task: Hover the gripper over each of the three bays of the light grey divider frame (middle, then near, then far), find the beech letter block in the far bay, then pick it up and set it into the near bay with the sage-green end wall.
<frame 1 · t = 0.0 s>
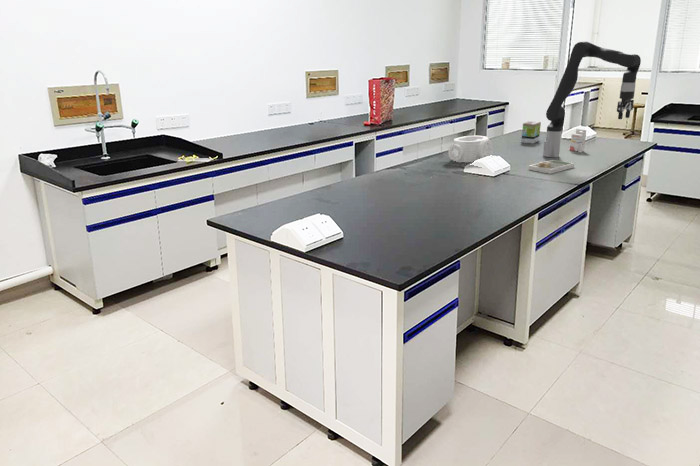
hand: (623, 118, 323), 29 cm above the counter, tool pointing down, fingers open, 8 cm apart
housing: (472, 159, 363), on the counter
tea box: (530, 142, 420), on the counter
beech letter block: (543, 170, 328), resting in divider frame
divider frame: (551, 168, 332), on the counter
ink cartridge box: (576, 151, 382), on the counter
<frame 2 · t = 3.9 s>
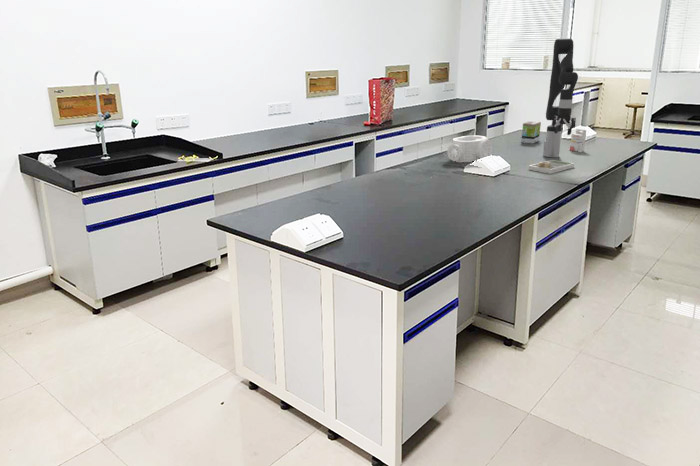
hand: (562, 134, 330), 20 cm above the counter, tool pointing down, fingers open, 8 cm apart
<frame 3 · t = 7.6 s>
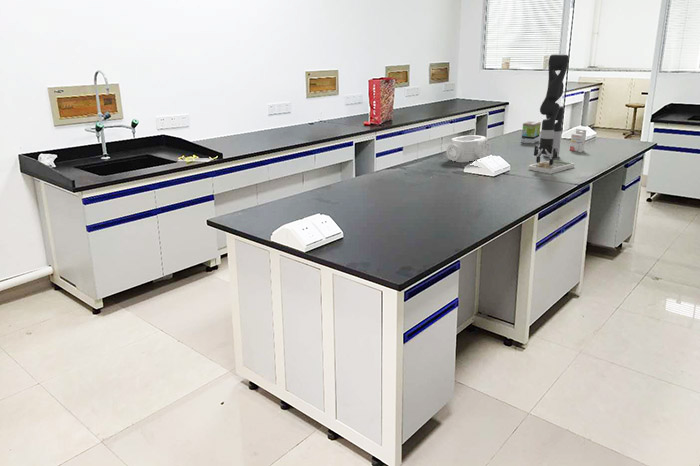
hand: (544, 164, 326), 4 cm above the counter, tool pointing down, fingers open, 8 cm apart
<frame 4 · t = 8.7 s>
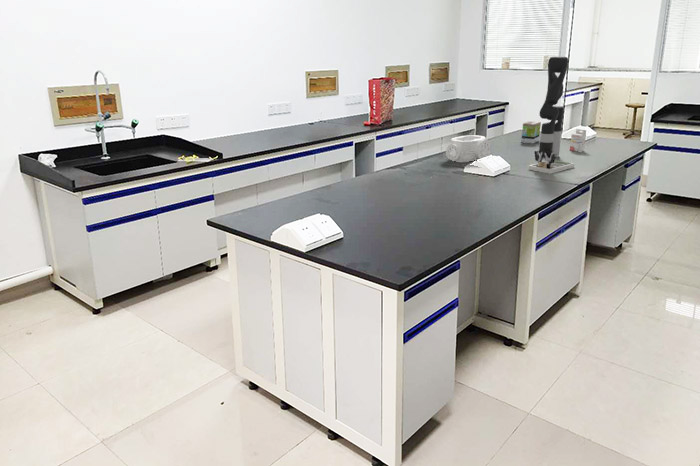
hand: (543, 168, 327), 1 cm above the counter, tool pointing down, fingers closed on beech letter block, 5 cm apart
beech letter block: (543, 170, 328), resting in divider frame, touching gripper
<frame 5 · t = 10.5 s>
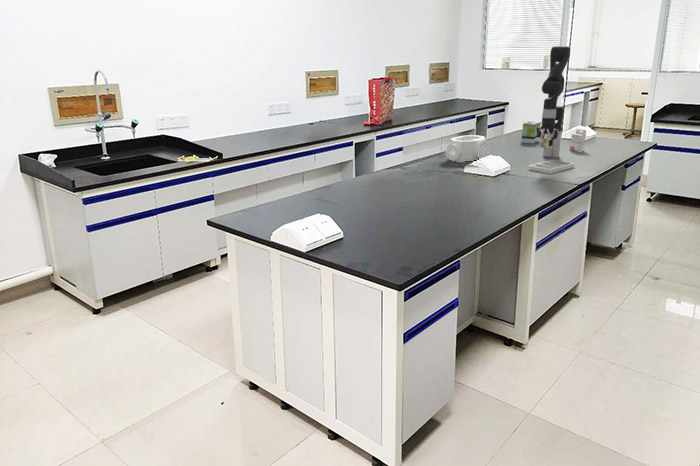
hand: (546, 145, 323), 15 cm above the counter, tool pointing down, fingers closed on beech letter block, 5 cm apart
beech letter block: (545, 147, 323), point 14 cm above the counter, touching gripper
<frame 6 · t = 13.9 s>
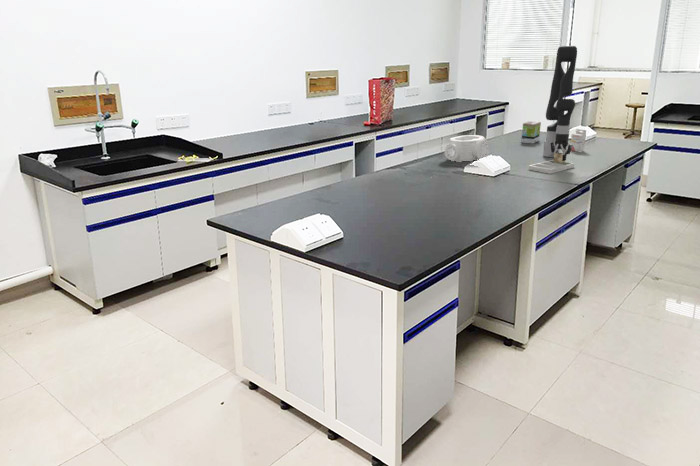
hand: (559, 160, 335), 4 cm above the counter, tool pointing down, fingers closed on beech letter block, 5 cm apart
beech letter block: (559, 161, 336), point 3 cm above the counter, touching gripper
when the fingers open (2 cm above the counter, at t = 14.8 s): beech letter block drops 2 cm, resting in divider frame.
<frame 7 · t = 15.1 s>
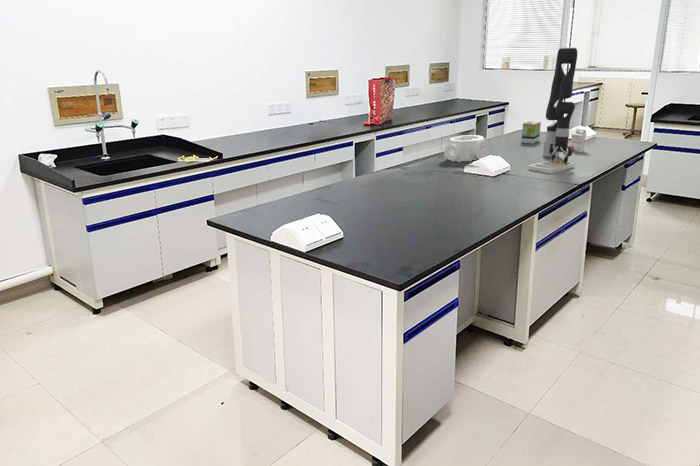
hand: (559, 161, 336), 3 cm above the counter, tool pointing down, fingers open, 8 cm apart
beech letter block: (558, 166, 337), resting in divider frame
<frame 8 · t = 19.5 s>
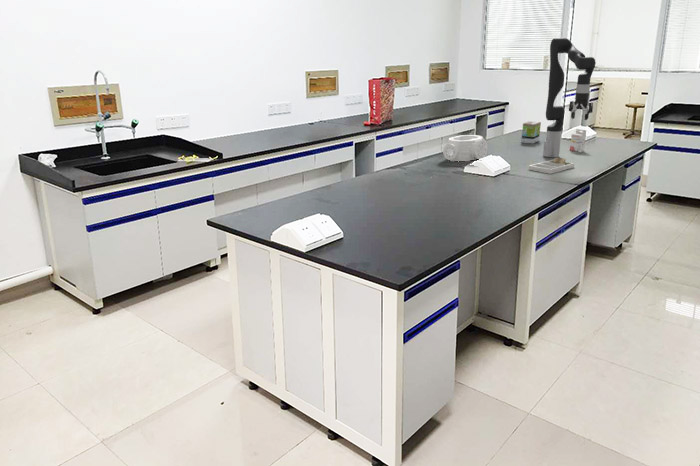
hand: (579, 119, 332), 28 cm above the counter, tool pointing down, fingers open, 8 cm apart
at the end: beech letter block inside the target area (0.0 cm from its centre), resting in divider frame; beech letter block tilted 0°; the gripper is holding nothing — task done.
